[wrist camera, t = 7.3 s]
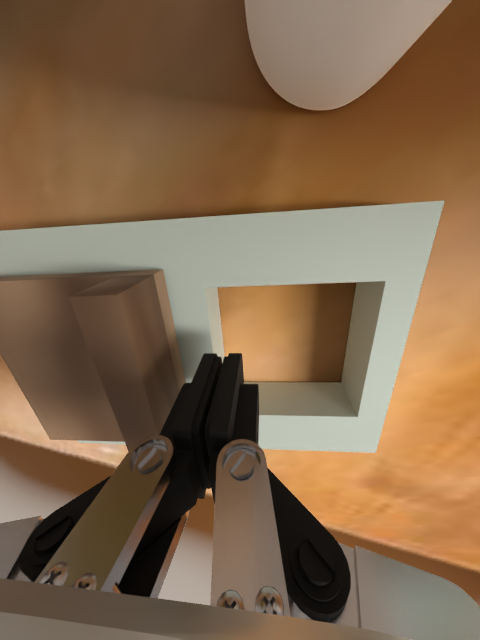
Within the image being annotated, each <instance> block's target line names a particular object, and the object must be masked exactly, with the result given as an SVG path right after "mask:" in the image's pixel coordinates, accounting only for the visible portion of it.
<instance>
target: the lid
mask: <svg viewBox="0 0 480 640" xmlns="http://www.w3.org/2000/svg"><path fill="white" fill-rule="evenodd" d="M0 354H1V356H2V357H3V359H4V361H5V362H6V364H7V366H8V368H9V369H10V371H11V373H12V374H13V376H14V378H15V380H16V381H17V383H18V385H19V386H20V388H21V390H22V392H23V393H24V395H25V397H26V399H27V400H28V402H29V404H30V405H31V407H32V409H33V411H34V412H35V414H36V416H37V417H38V419H39V421H40V423H41V424H42V426H43V428H44V429H45V431H46V433H47V435H48V436H49V438H50V439H52V440H83V441H113V442H125V443H126V446H127V448H128V451H130V450H131V449H132V447H133V446H134V445H135V444H137V443H138V442H139V441H141V440H143V439H145V438H147V437H150V436H154V435H159V434H160V432H161V430H162V428H163V426H164V424H165V422H166V419H167V417H168V415H169V413H170V411H171V409H172V407H173V405H174V403H175V401H176V398H177V396H178V394H179V392H180V390H181V388H182V386H183V384H184V383H186V381H185V376H184V371H183V366H182V361H181V356H180V351H179V346H178V341H177V336H176V331H175V326H174V321H173V316H172V311H171V306H170V301H169V296H168V291H167V286H166V281H165V276H164V271H163V269H159V270H137V271H115V272H93V273H71V274H50V275H28V276H6V277H0Z"/></svg>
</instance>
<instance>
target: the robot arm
mask: <svg viewBox="0 0 480 640" xmlns="http://www.w3.org/2000/svg"><path fill="white" fill-rule="evenodd" d="M258 439H259V385H258V384H244V377H243V362H242V354H241V353H229V355H228V357H224V359H223V363H222V358H221V357H218V356H217V354H216V353H204V354H203V357H202V359H201V361H200V363H199V366H198V368H197V370H196V373H195V375H194V377H193V380H192V382H191V383H184V384H183V386H182V388H181V390H180V392H179V394H178V396H177V398H176V401H175V403H174V405H173V407H172V409H171V411H170V413H169V415H168V417H167V419H166V422H165V424H164V426H163V428H162V430H161V432H160V434H159V435H154V436H150V437H147V438H145V439H143V440H141V441H139V442H138V443H137V444H135V445H134V446H133V447H132V449H131V450H130V451H129V452H128V453H127V455H126V456H125V458H124V459H123V460H122V462H121V463H120V464H119V466H118V467H117V469H116V470H115V471H114V473H113V474H112V475H111V476H110V477H108V478H107V479H105V480H104V481H102V482H100V483H99V484H97V485H95V486H94V487H92V488H91V489H89V490H88V491H86V492H84V493H83V494H81V495H80V496H78V497H77V498H75V499H73V500H72V501H70V502H69V503H67V504H66V505H64V506H63V507H61V508H59V509H58V510H56V511H55V512H53V513H52V514H51V515H49V516H48V517H47V518H45V519H42V517H41V516H37V517H32V518H27V519H21V520H16V521H11V522H6V523H1V524H0V640H480V607H479V606H478V605H477V603H476V602H475V601H474V600H473V599H472V598H471V597H470V596H469V595H468V594H466V593H465V592H464V591H463V590H462V589H461V588H460V587H459V586H457V585H455V584H453V583H451V582H450V581H448V580H446V579H444V578H441V577H438V576H436V575H433V574H430V573H428V572H425V571H422V570H420V569H417V568H415V567H412V566H409V565H406V564H403V563H401V562H398V561H396V560H393V559H390V558H388V557H385V556H382V555H380V554H377V553H374V552H372V551H369V550H366V549H363V548H361V547H358V546H355V549H353V548H351V547H348V546H346V545H343V544H340V543H338V542H337V541H336V540H335V538H334V537H333V536H332V535H331V534H330V533H329V532H328V531H327V530H326V529H325V528H324V527H323V525H322V524H321V523H320V522H319V521H318V520H317V519H316V518H315V517H314V516H313V515H312V514H311V513H310V512H309V511H308V510H307V509H306V508H305V507H304V506H303V505H302V503H301V502H300V501H299V500H298V499H297V498H296V497H295V496H294V495H293V494H292V493H291V492H290V491H289V490H288V489H287V488H286V487H285V486H284V485H283V484H282V483H281V481H280V480H279V479H278V478H277V477H276V476H275V475H274V474H273V473H272V472H271V471H270V470H269V469H268V468H267V463H266V458H265V455H264V452H263V450H262V449H261V448H260V446H259V445H258ZM206 488H208V489H210V488H212V493H213V498H214V504H215V512H214V535H213V559H212V582H211V605H210V606H208V605H202V604H195V603H187V602H179V601H172V600H165V599H157V598H158V595H159V593H160V590H161V587H162V585H163V582H164V579H165V577H166V574H167V572H168V569H169V566H170V564H171V561H172V558H173V556H174V553H175V550H176V548H177V545H178V542H179V540H180V537H181V534H182V532H183V529H184V527H185V524H186V521H187V518H188V514H189V510H190V509H191V508H192V507H193V506H194V505H195V504H196V502H197V498H200V499H204V496H205V492H206Z"/></svg>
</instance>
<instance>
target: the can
mask: <svg viewBox="0 0 480 640" xmlns="http://www.w3.org/2000/svg"><path fill="white" fill-rule="evenodd" d="M451 1H452V0H245V11H246V20H247V28H248V34H249V39H250V44H251V47H252V51H253V54H254V57H255V60H256V62H257V64H258V67H259V69H260V71H261V73H262V74H263V76H264V78H265V79H266V81H267V82H268V84H269V85H270V86H271V87H272V88H273V90H274V91H275V92H276V93H277V94H278V95H280V96H281V97H282V98H283V99H285V100H286V101H288V102H289V103H291V104H293V105H295V106H298V107H301V108H304V109H309V110H332V109H336V108H339V107H342V106H344V105H346V104H348V103H350V102H352V101H353V100H355V99H357V98H358V97H360V96H361V95H362V94H364V93H365V92H366V91H368V90H369V89H370V88H371V87H372V86H373V85H375V84H376V83H377V82H378V81H379V80H380V79H381V78H382V77H383V76H384V75H385V74H386V73H387V72H388V71H389V70H390V69H391V68H392V67H393V66H394V65H395V63H396V62H397V61H398V60H399V59H400V58H401V57H402V56H403V55H404V54H405V53H406V51H407V50H408V49H409V48H410V47H411V46H412V45H413V44H414V43H415V41H416V40H417V39H418V38H419V37H420V36H421V35H422V34H423V33H424V31H425V30H426V29H427V28H428V27H429V26H430V25H431V24H432V23H433V22H434V20H435V19H436V18H437V17H438V16H439V15H440V14H441V13H442V12H443V10H444V9H445V8H446V7H447V6H448V5H449V4H450V3H451Z"/></svg>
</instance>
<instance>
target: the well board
mask: <svg viewBox="0 0 480 640" xmlns="http://www.w3.org/2000/svg"><path fill="white" fill-rule="evenodd" d="M444 201H445V200H444ZM444 201H429V202H415V203H400V204H386V205H371V206H356V207H342V208H327V209H312V210H298V211H283V212H268V213H254V214H239V215H224V216H210V217H195V218H180V219H166V220H151V221H136V222H122V223H107V224H92V225H78V226H63V227H48V228H34V229H19V230H4V231H0V277H6V276H28V275H50V274H71V273H93V272H115V271H137V270H159V269H163V271H164V276H165V281H166V286H167V291H168V296H169V301H170V306H171V311H172V316H173V321H174V326H175V331H176V336H177V341H178V346H179V351H180V356H181V361H182V366H183V371H184V376H185V381H186V383H191V382H192V380H193V377H194V375H195V373H196V370H197V368H198V366H199V363H200V361H201V359H202V357H203V354H204V353H216V354H217V356H218V357H221V358H222V363H223V359H224V357H225V355H224V346H223V336H222V327H221V317H220V308H219V298H218V289H217V287H239V286H266V285H293V284H320V283H347V282H356V288H355V295H354V301H353V308H352V314H351V321H350V328H349V334H348V341H347V347H346V354H345V360H344V367H343V374H342V380H341V382H244V384H258V385H259V439H258V445H259V446H260V448H261V449H280V450H309V451H339V452H369V453H376V450H377V446H378V442H379V439H380V435H381V431H382V428H383V424H384V420H385V417H386V413H387V410H388V406H389V402H390V399H391V395H392V391H393V388H394V384H395V380H396V377H397V373H398V369H399V366H400V362H401V358H402V355H403V351H404V347H405V344H406V340H407V337H408V333H409V329H410V326H411V322H412V318H413V315H414V311H415V307H416V304H417V300H418V296H419V293H420V289H421V285H422V282H423V278H424V274H425V271H426V267H427V263H428V260H429V256H430V253H431V249H432V245H433V242H434V238H435V234H436V231H437V227H438V223H439V220H440V216H441V212H442V209H443V205H444ZM78 441H79V443H101V444H126V443H125V442H113V441H83V440H78Z"/></svg>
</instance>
